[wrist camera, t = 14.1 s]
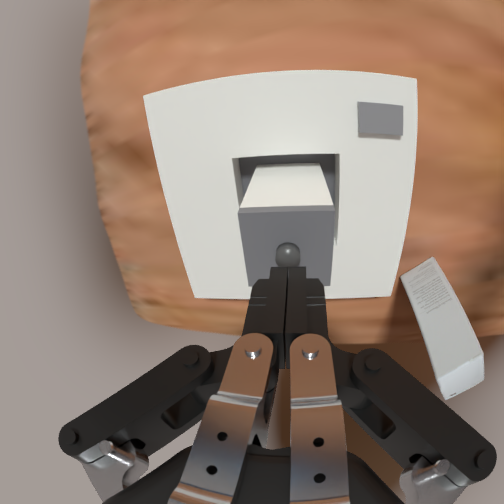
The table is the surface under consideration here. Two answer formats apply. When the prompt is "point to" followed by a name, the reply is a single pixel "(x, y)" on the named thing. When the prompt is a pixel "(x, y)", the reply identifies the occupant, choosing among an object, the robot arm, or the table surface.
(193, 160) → the socket plate
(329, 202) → the plug
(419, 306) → the skincare box
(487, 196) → the table surface
